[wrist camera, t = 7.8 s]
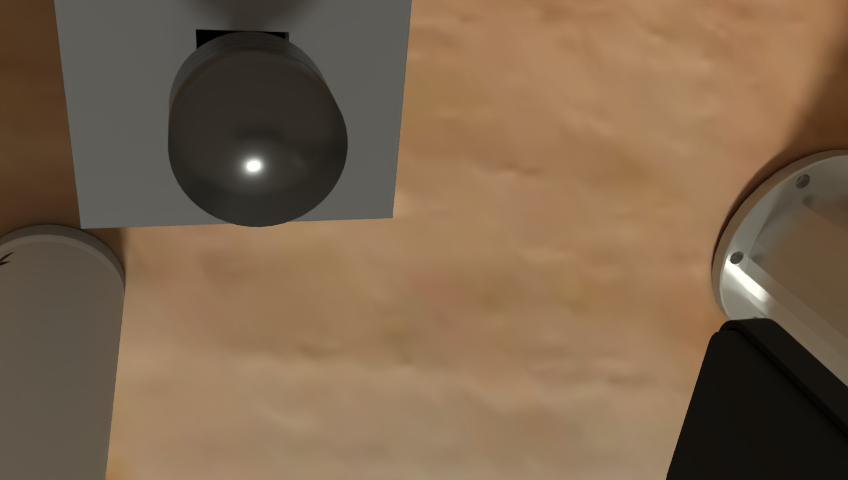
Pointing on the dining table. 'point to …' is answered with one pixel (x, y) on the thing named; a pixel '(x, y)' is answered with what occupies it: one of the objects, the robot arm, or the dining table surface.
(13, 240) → the travel mug
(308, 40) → the grey box with hole
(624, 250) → the dining table surface
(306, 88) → the plunger
